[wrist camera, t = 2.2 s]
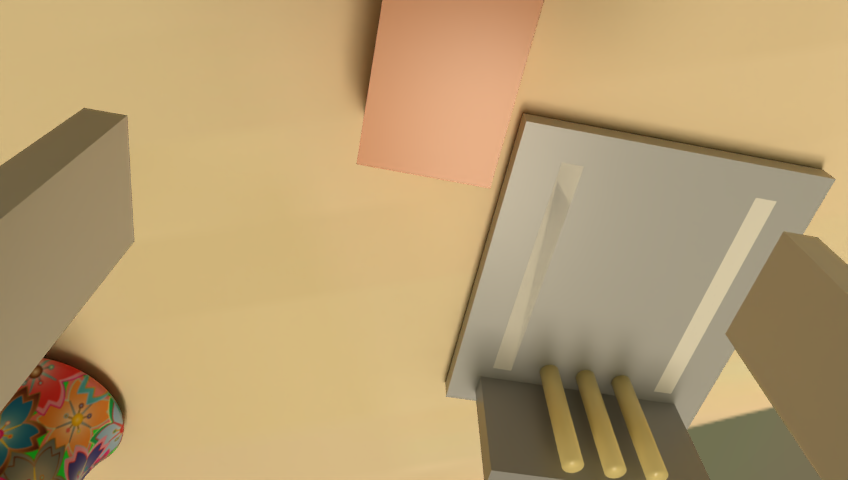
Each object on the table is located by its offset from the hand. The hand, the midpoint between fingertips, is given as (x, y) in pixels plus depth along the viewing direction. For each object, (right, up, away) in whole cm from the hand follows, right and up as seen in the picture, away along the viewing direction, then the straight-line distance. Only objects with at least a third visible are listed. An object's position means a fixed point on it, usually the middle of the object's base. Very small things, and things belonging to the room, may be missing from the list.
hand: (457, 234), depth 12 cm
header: (+9, -3, +19) cm, 21 cm away
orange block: (0, +8, +13) cm, 15 cm away
